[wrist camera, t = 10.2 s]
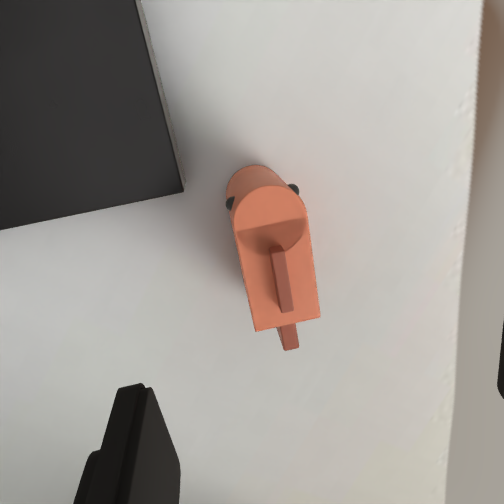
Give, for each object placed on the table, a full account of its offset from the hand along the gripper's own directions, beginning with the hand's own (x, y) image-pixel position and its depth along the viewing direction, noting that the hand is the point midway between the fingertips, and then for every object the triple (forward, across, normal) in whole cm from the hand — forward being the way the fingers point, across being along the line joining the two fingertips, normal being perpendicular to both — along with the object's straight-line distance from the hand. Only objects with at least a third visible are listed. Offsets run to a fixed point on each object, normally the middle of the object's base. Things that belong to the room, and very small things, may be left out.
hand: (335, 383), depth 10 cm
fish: (+13, 0, +1) cm, 13 cm away
